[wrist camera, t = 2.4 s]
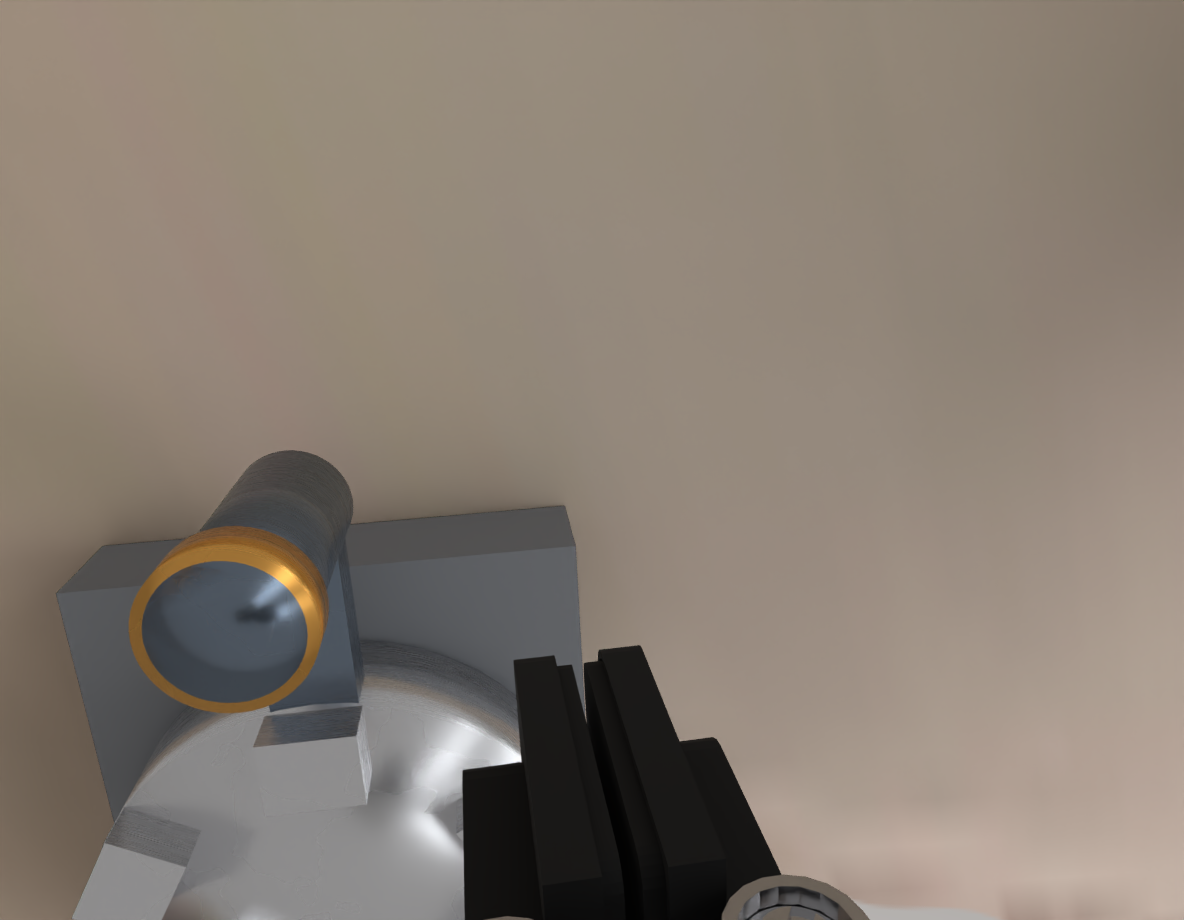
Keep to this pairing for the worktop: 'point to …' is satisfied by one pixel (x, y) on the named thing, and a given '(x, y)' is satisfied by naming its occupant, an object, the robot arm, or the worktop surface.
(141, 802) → the gold-rimmed tube plate
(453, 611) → the grey rectangular base plate
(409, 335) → the worktop surface
